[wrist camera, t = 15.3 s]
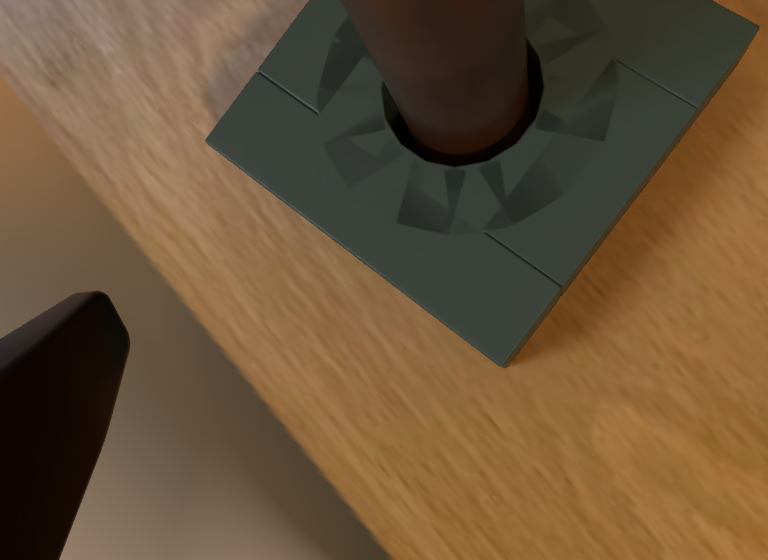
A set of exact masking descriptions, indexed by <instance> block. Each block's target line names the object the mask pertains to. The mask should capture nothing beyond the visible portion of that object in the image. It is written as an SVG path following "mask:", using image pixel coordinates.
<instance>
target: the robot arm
mask: <svg viewBox="0 0 768 560" xmlns="http://www.w3.org/2000/svg"><path fill="white" fill-rule="evenodd" d="M129 349H130V338H129V334H128V331H127V329H126V327H125V326H124V324H123V322H122V320H121V318H120V316H119V315H118V313H117V311H116V309H115V307H114V305H113V304H112V302H111V300H110V298H109V296H108V295H106V294H105V293H104V292H101V291H92V292H80V293H75V294H73V295H71V296H70V297H68V298H66V299H65V300H63V301H61V302H60V303H58V304H56V305H55V306H53V307H52V308H50V309H48V310H47V311H45V312H43V313H42V314H40V315H38V316H37V317H35V318H34V319H32V320H30V321H29V322H27V323H25V324H24V325H22V326H21V327H19V328H17V329H16V330H14V331H13V332H11V333H9V334H8V335H6V336H4V337H3V338H1V339H0V560H59V559H60V556H61V553H62V551H63V548H64V546H65V543H66V541H67V538H68V535H69V533H70V530H71V528H72V525H73V522H74V520H75V517H76V515H77V512H78V509H79V507H80V504H81V502H82V499H83V496H84V494H85V491H86V489H87V486H88V483H89V481H90V478H91V475H92V473H93V470H94V468H95V465H96V462H97V460H98V457H99V455H100V452H101V449H102V446H103V444H104V441H105V438H106V434H107V431H108V428H109V425H110V421H111V417H112V414H113V410H114V406H115V402H116V398H117V395H118V391H119V387H120V384H121V380H122V376H123V372H124V368H125V365H126V361H127V357H128V354H129Z"/></svg>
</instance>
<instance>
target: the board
mask: <svg viewBox="0 0 768 560" xmlns="http://www.w3.org/2000/svg"><path fill="white" fill-rule="evenodd" d="M524 6H525V26H526V47H527V67H528V74H529V75H530V77H531V78H532V80H533V81H534V83H535V84H536V86H537V87H538V89H539V93H540V102H539V106H538V110H537V114H536V118H535V119H534V121H533V122H532V123H531V125H530V126H529V127H528V129H527V130H526V131H525V132H524V134H523V135H522V136H521V138H520V139H519V140H518V142H517V143H516V144H515V145H513V146H511V147H510V148H508V149H506V150H505V151H503V152H502V153H500V154H498V155H497V156H495V157H493V158H492V159H490V160H489V161H485V162H479V163H474V164H469V165H463V166H458V167H454V166H449V165H444V164H439V163H434V162H429V161H425V160H424V159H423V158H421V157H420V156H418V155H417V154H415V153H414V152H412V151H411V150H410V149H408V148H407V147H405V146H404V145H402V144H401V140H400V132H399V124H398V113H399V110H398V108H397V106H396V104H395V102H394V100H393V98H392V96H391V94H390V93H389V91H388V89H387V87H386V85H385V83H384V81H383V79H382V78H381V76H380V74H379V72H378V70H377V68H376V66H375V64H374V62H373V61H372V59H371V57H370V55H369V53H368V51H367V49H366V47H365V46H364V44H363V42H362V40H361V38H360V36H359V34H358V32H357V30H356V29H355V27H354V25H353V23H352V21H351V19H350V17H349V15H348V14H347V12H346V10H345V8H344V6H343V4H342V2H341V0H309V1H308V3H307V4H306V5H305V7H304V8H303V9H302V11H301V12H300V13H299V15H298V16H297V17H296V19H295V20H294V21H293V23H292V24H291V26H290V27H289V28H288V30H287V31H286V32H285V34H284V35H283V36H282V38H281V39H280V40H279V42H278V43H277V44H276V46H275V47H274V48H273V50H272V51H271V52H270V54H269V55H268V56H267V58H266V59H265V60H264V62H263V63H262V65H261V66H260V67H259V69H258V71H259V73H258V72H256V73H255V74H254V75H253V77H252V78H251V79H250V81H249V82H248V83H247V85H246V86H245V87H244V89H243V90H242V91H241V93H240V94H239V95H238V97H237V98H236V100H235V101H234V102H233V104H232V105H231V106H230V108H229V109H228V110H227V112H226V113H225V114H224V116H223V117H222V118H221V120H220V121H219V122H218V124H217V125H216V126H215V128H214V129H213V130H212V132H211V133H210V135H209V136H208V137H207V139H206V143H207V144H208V145H209V146H211V147H212V148H213V149H215V150H216V151H217V152H219V153H220V154H221V155H223V156H224V157H225V158H227V159H228V160H229V161H230V162H232V163H233V164H234V165H236V166H237V167H238V168H240V169H241V170H242V171H244V172H245V173H246V174H248V175H249V176H250V177H251V178H253V179H254V180H255V181H257V182H258V183H259V184H261V185H262V186H263V187H265V188H266V189H267V190H269V191H270V192H271V193H272V194H274V195H275V196H276V197H278V198H279V199H280V200H282V201H283V202H284V203H286V204H287V205H288V206H290V207H291V208H292V209H293V210H295V211H296V212H297V213H299V214H300V215H301V216H303V217H304V218H305V219H307V220H308V221H309V222H311V223H312V224H313V225H314V226H316V227H317V228H318V229H320V230H321V231H322V232H324V233H325V234H326V235H328V236H329V237H330V238H332V239H333V240H334V241H336V242H337V243H338V244H339V245H341V246H342V247H343V248H345V249H346V250H347V251H349V252H350V253H351V254H353V255H354V256H355V257H357V258H358V259H359V260H360V261H362V262H363V263H364V264H366V265H367V266H368V267H370V268H371V269H372V270H374V271H375V272H376V273H378V274H379V275H380V276H381V277H383V278H384V279H385V280H387V281H388V282H389V283H391V284H392V285H393V286H395V287H396V288H397V289H399V290H400V291H401V292H402V293H404V294H405V295H406V296H408V297H409V298H410V299H412V300H413V301H414V302H416V303H417V304H418V305H420V306H421V307H422V308H423V309H425V310H426V311H427V312H429V313H430V314H431V315H433V316H434V317H435V318H437V319H438V320H439V321H441V322H442V323H443V324H444V325H446V326H447V327H448V328H450V329H451V330H452V331H454V332H455V333H456V334H458V335H459V336H460V337H462V338H463V339H464V340H465V341H467V342H468V343H469V344H471V345H472V346H473V347H475V348H476V349H477V350H479V351H480V352H481V353H483V354H484V355H485V356H486V357H488V358H489V359H490V360H492V361H493V362H494V363H496V364H497V365H498V366H501V367H503V368H507V367H508V366H509V364H510V363H511V362H512V360H513V359H514V358H515V357H516V355H517V354H518V353H519V351H520V350H521V349H522V347H523V346H524V345H525V343H526V342H527V341H528V339H529V338H530V337H531V335H532V334H533V333H534V332H535V330H536V329H537V328H538V326H539V325H540V324H541V322H542V321H543V320H544V318H545V317H546V316H547V314H548V313H549V312H550V311H551V309H552V308H553V307H554V305H555V304H556V303H557V301H558V300H559V298H560V296H562V295H563V294H564V292H565V291H566V290H567V288H568V287H569V286H570V284H571V283H572V282H573V280H574V279H575V278H576V276H577V275H578V274H579V272H580V271H581V270H582V269H583V267H584V266H585V265H586V263H587V262H588V261H589V259H590V258H591V257H592V255H593V254H594V253H595V251H596V250H597V249H598V248H599V246H600V245H601V244H602V242H603V241H604V240H605V238H606V237H607V236H608V234H609V233H610V232H611V230H612V229H613V228H614V226H615V225H616V224H617V223H618V221H619V220H620V219H621V217H622V216H623V215H624V213H625V212H626V211H627V209H628V208H629V207H630V205H631V204H632V203H633V201H634V200H635V199H636V198H637V196H638V195H639V194H640V192H641V191H642V190H643V188H644V187H645V186H646V184H647V183H648V182H649V180H650V179H651V178H652V177H653V175H654V174H655V173H656V171H657V170H658V169H659V167H660V166H661V165H662V163H663V162H664V161H665V159H666V158H667V157H668V155H669V154H670V153H671V152H672V150H673V149H674V148H675V146H676V145H677V144H678V142H679V141H680V140H681V138H682V136H683V135H684V134H685V133H686V132H687V130H688V129H689V128H690V126H691V125H692V124H693V123H694V121H695V120H696V119H697V117H698V116H699V115H700V113H701V112H702V111H703V109H704V108H705V107H706V105H707V104H708V103H709V102H710V100H711V99H712V98H713V96H714V95H715V94H716V92H717V91H718V90H719V88H720V87H721V86H722V84H723V83H724V82H725V80H726V79H727V78H728V77H729V75H730V74H731V73H732V71H733V70H734V69H735V67H736V66H737V64H738V63H739V61H740V60H741V58H742V56H743V55H744V53H745V51H746V50H747V48H748V47H749V45H750V43H751V42H752V40H753V38H754V37H755V35H756V34H757V32H758V30H759V26H758V25H756V24H754V23H753V22H751V21H749V20H747V19H745V18H743V17H741V16H740V15H738V14H736V13H734V12H732V11H730V10H729V9H727V8H725V7H723V6H721V5H719V4H718V3H716V2H714V1H712V0H524Z"/></svg>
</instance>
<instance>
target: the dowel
mask: <svg viewBox="0 0 768 560" xmlns="http://www.w3.org/2000/svg"><path fill="white" fill-rule="evenodd" d="M341 2H342V4H343V6H344V8H345V10H346V12H347V14H348V15H349V17H350V19H351V21H352V23H353V25H354V27H355V29H356V30H357V32H358V34H359V36H360V38H361V40H362V42H363V44H364V46H365V47H366V49H367V51H368V53H369V55H370V57H371V59H372V61H373V62H374V64H375V66H376V68H377V70H378V72H379V74H380V76H381V78H382V79H383V81H384V83H385V85H386V87H387V89H388V91H389V93H390V94H391V96H392V98H393V100H394V102H395V104H396V106H397V108H398V110H399V111H400V113H401V115H402V117H403V119H404V121H405V123H406V125H407V126H408V128H409V130H410V132H411V134H412V136H413V138H414V140H415V141H416V143H417V145H418V147H419V148H420V150H421V151H422V152H423V153H424V154H425V155H426V156H427V157H428V158H429V159H430V160H431V161H433V162H434V163H439V164H444V165H449V166H454V167H458V166H463V165H469V164H474V163H479V162H485V161H489V160H490V159H492V158H493V157H495V156H497V155H498V154H500V153H502V152H503V151H505V150H506V149H508V148H510V147H511V146H513V145H515V144H516V143H517V142H518V140H519V139H520V138H521V136H522V135H523V134H524V132H525V131H526V129H527V125H528V121H529V88H528V67H527V47H526V26H525V6H524V0H341Z"/></svg>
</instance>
